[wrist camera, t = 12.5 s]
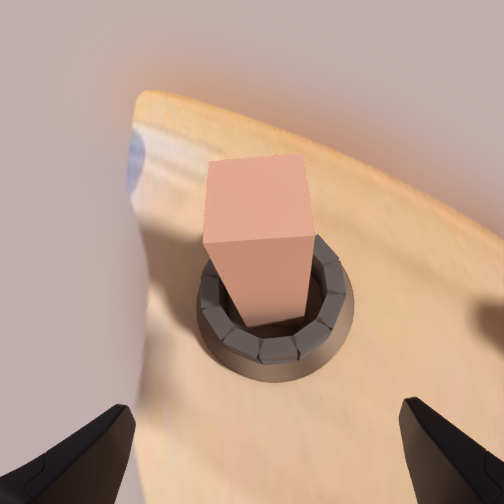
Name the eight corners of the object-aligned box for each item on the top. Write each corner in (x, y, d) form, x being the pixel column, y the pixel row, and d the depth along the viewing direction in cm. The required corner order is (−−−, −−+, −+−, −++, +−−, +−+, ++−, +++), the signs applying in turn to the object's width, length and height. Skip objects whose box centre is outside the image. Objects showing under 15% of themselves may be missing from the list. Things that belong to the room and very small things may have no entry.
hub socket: (253, 413, 21) (245, 415, 17) (174, 288, 26) (154, 266, 22) (381, 318, 23) (399, 300, 19) (291, 214, 28) (290, 182, 24)
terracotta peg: (302, 325, 23) (314, 235, 11) (247, 328, 23) (202, 243, 11) (298, 275, 24) (302, 153, 13) (247, 278, 25) (209, 162, 13)
